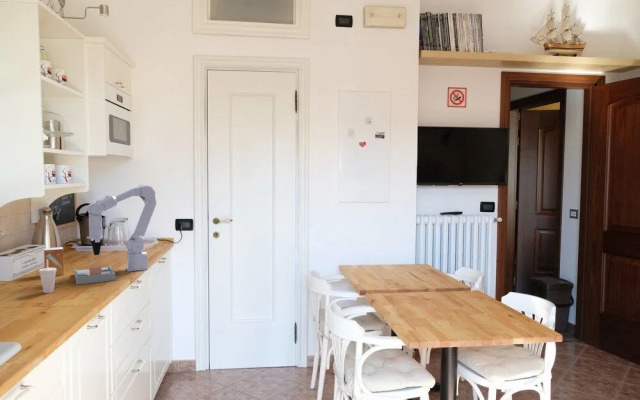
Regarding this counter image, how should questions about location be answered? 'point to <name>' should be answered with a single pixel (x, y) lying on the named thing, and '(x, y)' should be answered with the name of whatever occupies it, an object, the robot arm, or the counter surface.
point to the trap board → (94, 276)
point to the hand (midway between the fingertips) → (96, 254)
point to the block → (95, 270)
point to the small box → (54, 259)
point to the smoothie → (48, 278)
